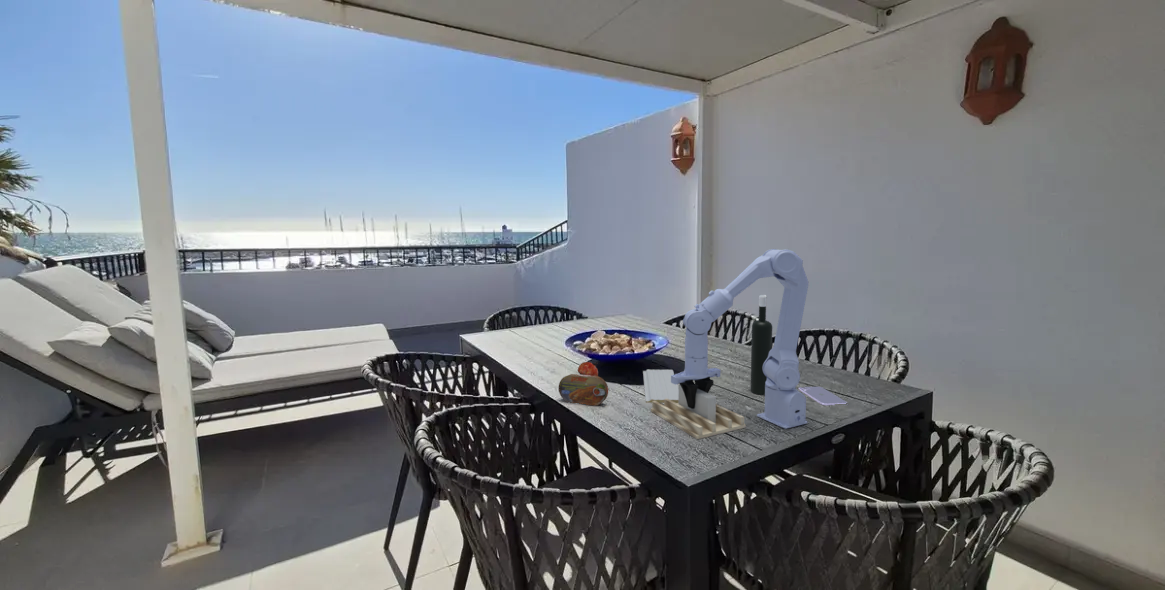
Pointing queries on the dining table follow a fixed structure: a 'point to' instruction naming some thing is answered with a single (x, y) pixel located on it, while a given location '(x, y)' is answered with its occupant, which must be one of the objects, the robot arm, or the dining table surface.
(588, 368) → the pomegranate
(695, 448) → the dining table surface
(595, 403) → the tin
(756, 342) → the wine bottle
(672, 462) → the dining table surface
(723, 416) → the rack
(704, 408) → the gray rectangular block
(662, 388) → the baseboard molding
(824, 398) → the mobile phone
